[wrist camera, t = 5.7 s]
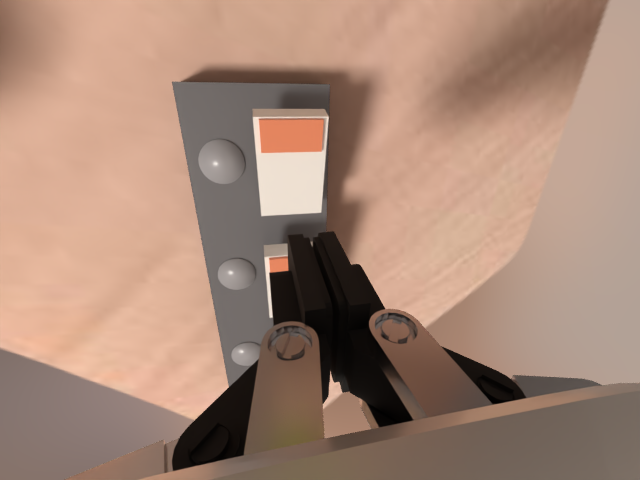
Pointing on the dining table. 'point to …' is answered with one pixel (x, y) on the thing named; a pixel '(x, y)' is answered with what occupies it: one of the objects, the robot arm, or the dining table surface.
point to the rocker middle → (274, 264)
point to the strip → (239, 202)
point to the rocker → (290, 159)
